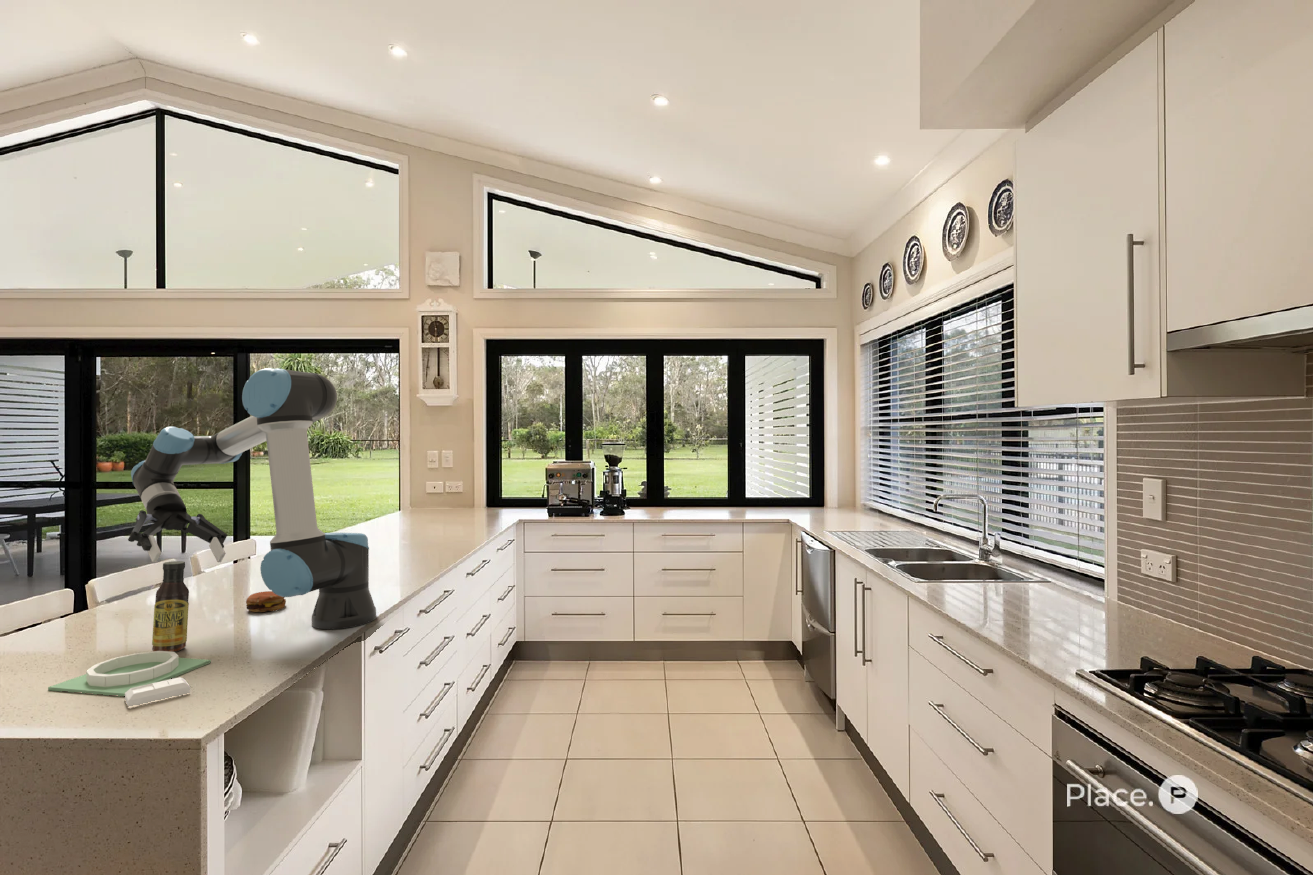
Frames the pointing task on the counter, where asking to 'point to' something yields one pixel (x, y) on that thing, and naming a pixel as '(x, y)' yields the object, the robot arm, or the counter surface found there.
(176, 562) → the sauce bottle
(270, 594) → the burger
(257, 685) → the counter surface
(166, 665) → the putting mat
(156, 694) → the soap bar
